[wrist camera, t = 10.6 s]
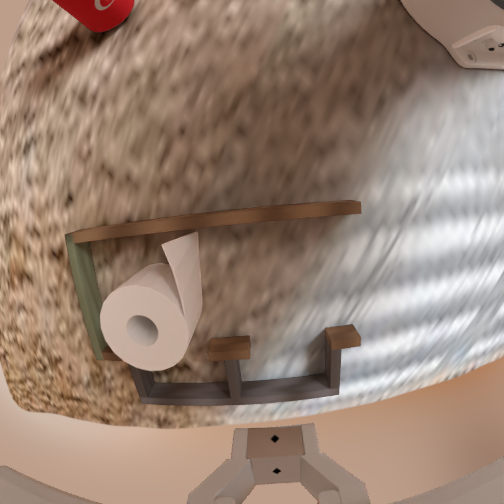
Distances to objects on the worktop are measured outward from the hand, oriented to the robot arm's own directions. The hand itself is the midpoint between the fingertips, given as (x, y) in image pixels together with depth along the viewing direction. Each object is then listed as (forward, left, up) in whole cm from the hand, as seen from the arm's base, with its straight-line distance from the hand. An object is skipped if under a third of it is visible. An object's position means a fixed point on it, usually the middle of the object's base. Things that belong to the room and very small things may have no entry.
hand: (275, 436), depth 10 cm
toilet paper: (+9, 0, -21) cm, 22 cm away
